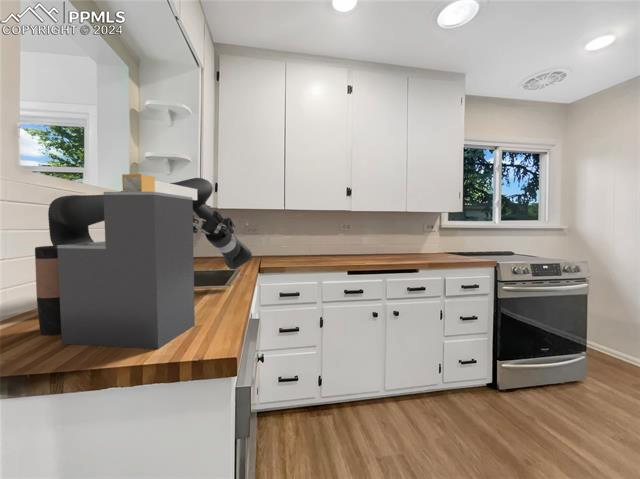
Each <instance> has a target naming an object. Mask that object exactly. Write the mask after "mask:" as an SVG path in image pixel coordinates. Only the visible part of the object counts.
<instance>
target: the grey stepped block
mask: <svg viewBox="0 0 640 479" xmlns="http://www.w3.org/2000/svg"><path fill="white" fill-rule="evenodd" d="M102 193H103V195H104V220H105V221H104V239H105V240H104V241H96V242H95V241H94V242H91V243H78V244H65V245H57V250H58V271H59V293H60V314H61V334H60V335H61V344H65V345H82V346H98V347H99V346H101V347H117V348H118V347H119V348H132V349H133V348H135V349H150V350H153V349H154V350H159V349H160V348H163V346H165V345H167V344H168V343H170V342H171V341H173V340H174V339H176V338H178V337H179V336H180V335H182V334H184V333H185V332H186V331H188V330H190V329H192V328H193V327H194V326H195V324H196V323H195V322H196V320H195V317H196V316H195V310H196V309H195V269H194V268H195V267H194V265H195V264H194V263H195V260H194V257H195V256H194V232H193V215H194V214H193V212H194V211H193V202H192V197H186V196H180V195H173V194H167V193H160V192H120V191H103V192H102Z"/></svg>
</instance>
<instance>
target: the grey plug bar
mask: <svg viewBox="0 0 640 479" xmlns="http://www.w3.org/2000/svg"><path fill="white" fill-rule="evenodd" d="M121 176H122V177H121V180H122V191H123V192H160V193H167V194H173V195H180V196H186V197H192V200H197V189H193V188H189V187H184V186H179V185H174V184H170V183H171V182H169V183H168V182H164V181H159V180H155V179H156V178H155V176H150V175H146V174H142V173H140V174H137V173H136V174H134V173H131V174H129V173H127V174H121Z"/></svg>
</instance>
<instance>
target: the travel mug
mask: <svg viewBox="0 0 640 479" xmlns="http://www.w3.org/2000/svg"><path fill="white" fill-rule="evenodd" d="M34 260H35V261H34V262H35V263H34V264H35V284H36V285H35V288H36V291H35V292H36V301H37V302H36V303H37V315H38V325H39V326H38V327H39V334H41V335H42V336H55V335H61V314H60V293H59V271H58V250H57V246H53V245H43V246H42V245H41V246H35V247H34Z"/></svg>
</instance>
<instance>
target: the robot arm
mask: <svg viewBox="0 0 640 479" xmlns="http://www.w3.org/2000/svg"><path fill="white" fill-rule="evenodd" d="M169 183H170V184H174V185H179V186H184V187H189V188H193V189H197V200H192V202H193V212H194V213H195V214H196V216H198V217H195V215H194V214H193V234H197V233H198V232H201V233H203V234H204V235H205V238H206V240H207V241H208V242H209V243H210V244H211V246H213V248H215V250H217V251H219V253H221V254H222V256H223V261H224V263H225V265H226V267H227V268H228V269H230V270H237V269H238V268H240V267H242V266H243V265H245V264H247V263H248V262H249V261H250V260H252V258H253V254H252V251H251V250H250V249H249V247H247V246H246V245H245V244H244V243H243V242H242V241H240V240H239V238H238V237H237V236H236V235H235V233H234V232H235V229H236V226H235V224H234V222H233V221H232V219H231V217H226V218H225V217H224V216H222V215H221V213H220V212H218V211H217V210H214V211H213V212H212V211H211V210H210V208H209V207H208V204H207V201H208V200H209V199H210V197H211V196H212V194H213V190H214V188H213V184H212V183H211V182H210V181H209V180H208V179H205V178H203V177H194V178H189V179H183V180H180V181H177V182H176V181H175V182H169ZM119 192H123V190H121V191H119ZM47 213H48V214H47V217H48V230H49V238H50V241H51V244H52V246H57V245H65V244H78V243H91V242H95V241H94V240H93V239H92V237H91V235H90V231H89V230H90V229H89V226H92V225H95V224H98V223H102V222H105V220H104V194H92V195H91V194H90V195H89V194H88V195H84V194H83V195H82V194H80V195H79V194H72V195H63V196H59V197H57V198H55V199H54V200H52V202H50V204H49V206H48V212H47ZM195 221H196V222H197V223H196V222H195Z"/></svg>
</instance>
